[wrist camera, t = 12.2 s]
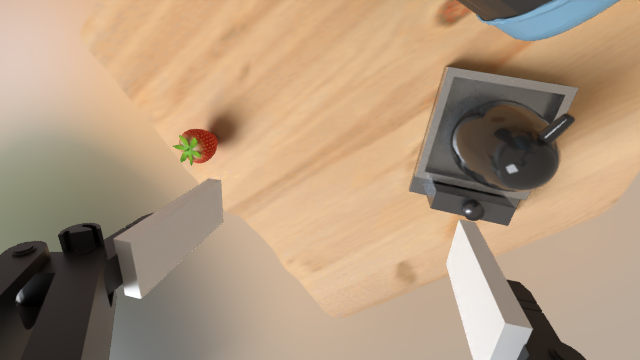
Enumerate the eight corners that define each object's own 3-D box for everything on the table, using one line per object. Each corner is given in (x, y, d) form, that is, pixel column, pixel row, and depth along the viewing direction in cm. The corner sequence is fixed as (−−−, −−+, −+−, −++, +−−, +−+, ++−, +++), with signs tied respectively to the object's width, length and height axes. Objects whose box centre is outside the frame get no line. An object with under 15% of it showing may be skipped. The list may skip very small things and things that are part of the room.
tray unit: (444, 66, 40) (455, 67, 33) (567, 86, 37) (605, 90, 31) (408, 188, 46) (412, 209, 40) (510, 211, 44) (531, 236, 38)
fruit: (232, 141, 50) (205, 154, 43) (215, 160, 52) (186, 176, 45) (209, 117, 49) (178, 126, 42) (192, 137, 51) (160, 149, 44)
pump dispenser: (547, 116, 38) (637, 145, 24) (494, 182, 42) (546, 239, 29) (475, 80, 38) (523, 89, 25) (430, 149, 43) (450, 190, 29)
